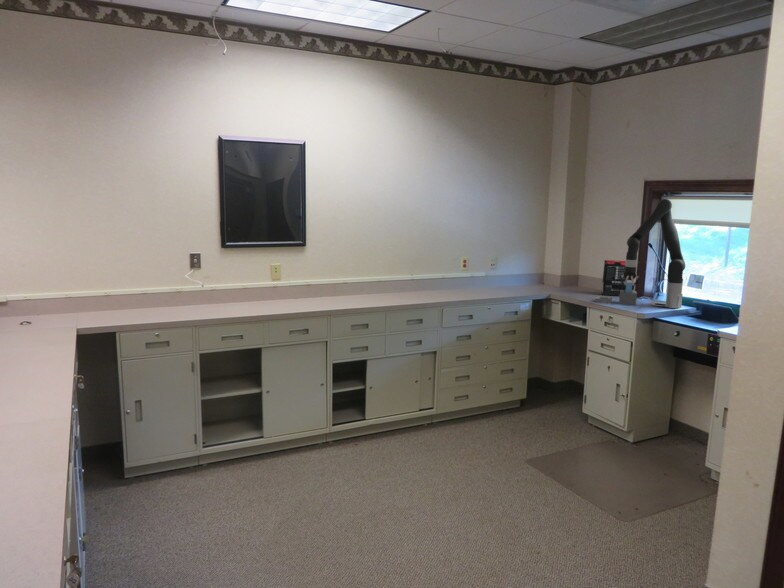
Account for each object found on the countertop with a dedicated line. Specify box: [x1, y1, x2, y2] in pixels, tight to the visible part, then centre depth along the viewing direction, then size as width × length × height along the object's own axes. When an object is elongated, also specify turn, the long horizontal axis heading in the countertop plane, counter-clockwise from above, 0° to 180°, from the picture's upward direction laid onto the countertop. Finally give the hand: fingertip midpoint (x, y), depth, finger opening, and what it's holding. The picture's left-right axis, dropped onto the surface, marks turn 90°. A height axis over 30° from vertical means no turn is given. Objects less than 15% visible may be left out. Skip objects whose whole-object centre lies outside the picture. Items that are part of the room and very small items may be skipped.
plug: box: [625, 281, 632, 292], centre depth 404 cm, size 4×4×9 cm
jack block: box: [594, 290, 638, 306], centre depth 408 cm, size 27×11×8 cm, turn 68°
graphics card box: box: [600, 259, 626, 297], centre depth 439 cm, size 17×7×27 cm, turn 84°
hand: (628, 289), depth 404 cm, fingers closed on plug, 4 cm apart
